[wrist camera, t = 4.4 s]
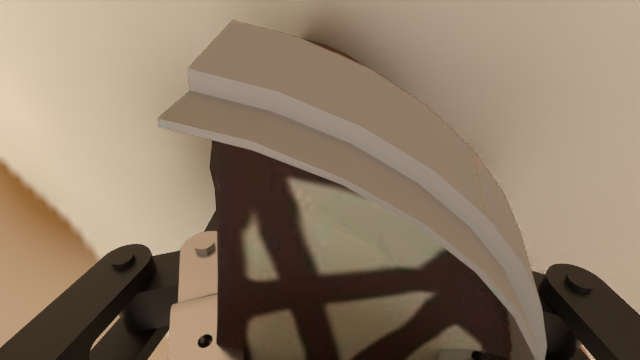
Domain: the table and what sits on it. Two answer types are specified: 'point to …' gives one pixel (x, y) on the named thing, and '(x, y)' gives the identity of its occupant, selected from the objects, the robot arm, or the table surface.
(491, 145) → the table surface
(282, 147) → the food container
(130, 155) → the table surface
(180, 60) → the table surface
